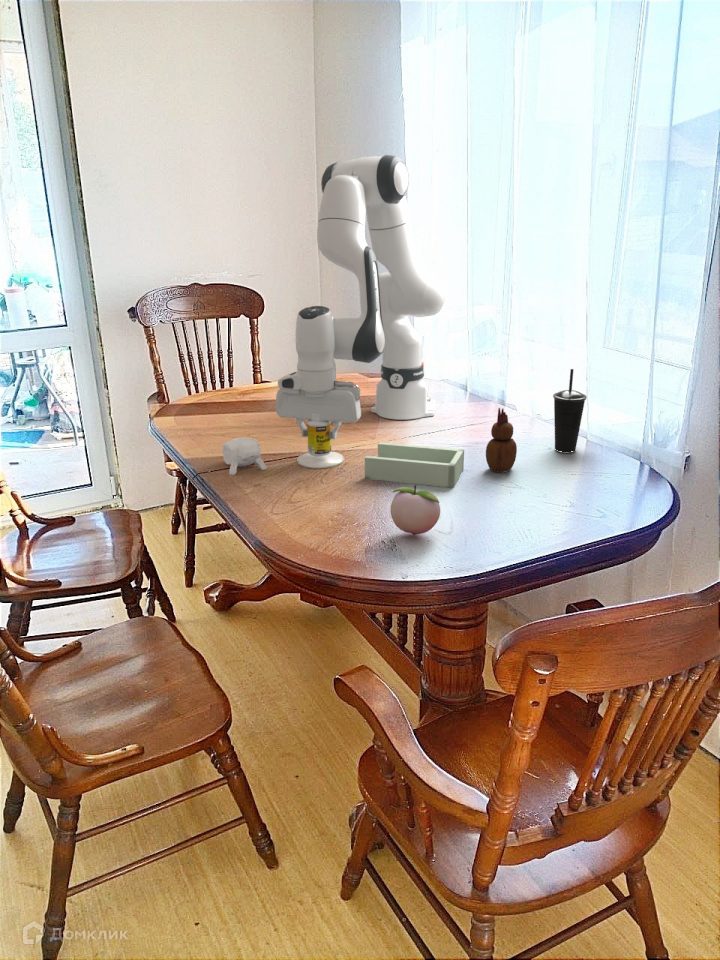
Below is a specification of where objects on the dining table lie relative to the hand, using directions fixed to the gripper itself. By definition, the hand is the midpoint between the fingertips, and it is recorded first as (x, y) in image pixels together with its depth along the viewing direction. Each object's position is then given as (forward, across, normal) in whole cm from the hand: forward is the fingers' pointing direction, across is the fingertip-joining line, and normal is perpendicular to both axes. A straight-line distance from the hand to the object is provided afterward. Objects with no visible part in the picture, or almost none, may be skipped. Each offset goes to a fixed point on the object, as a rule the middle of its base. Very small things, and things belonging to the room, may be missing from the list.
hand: (319, 437), depth 173 cm
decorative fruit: (+6, -32, +34) cm, 47 cm away
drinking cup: (+6, -55, -23) cm, 60 cm away
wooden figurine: (+6, -42, -5) cm, 43 cm away
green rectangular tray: (+6, -24, +3) cm, 25 cm away
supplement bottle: (+4, 0, 0) cm, 4 cm away
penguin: (+6, +15, +10) cm, 19 cm away
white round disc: (+6, 0, 0) cm, 6 cm away
